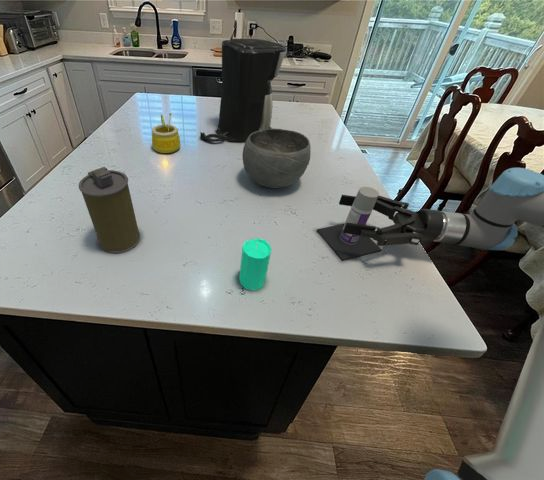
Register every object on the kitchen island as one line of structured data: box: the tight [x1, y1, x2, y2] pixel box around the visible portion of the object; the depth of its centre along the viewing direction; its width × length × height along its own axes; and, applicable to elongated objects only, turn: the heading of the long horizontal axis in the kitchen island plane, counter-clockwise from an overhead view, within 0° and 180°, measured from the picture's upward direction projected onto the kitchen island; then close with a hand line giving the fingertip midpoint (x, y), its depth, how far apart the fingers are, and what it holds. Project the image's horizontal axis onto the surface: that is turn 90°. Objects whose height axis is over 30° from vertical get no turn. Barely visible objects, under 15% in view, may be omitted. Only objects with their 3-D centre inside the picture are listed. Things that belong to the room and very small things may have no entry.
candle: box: [238, 237, 272, 291], centre depth 64 cm, size 6×6×12 cm
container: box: [340, 186, 380, 245], centre depth 74 cm, size 5×5×15 cm
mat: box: [316, 222, 383, 262], centre depth 79 cm, size 12×12×1 cm
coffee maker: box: [199, 38, 287, 143], centre depth 116 cm, size 23×32×34 cm
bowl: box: [241, 128, 312, 189], centre depth 95 cm, size 21×21×15 cm
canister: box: [78, 166, 141, 254], centre depth 70 cm, size 11×10×20 cm
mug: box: [151, 112, 181, 154], centre depth 112 cm, size 13×11×12 cm
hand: (342, 212), depth 74 cm, fingers open, 11 cm apart
